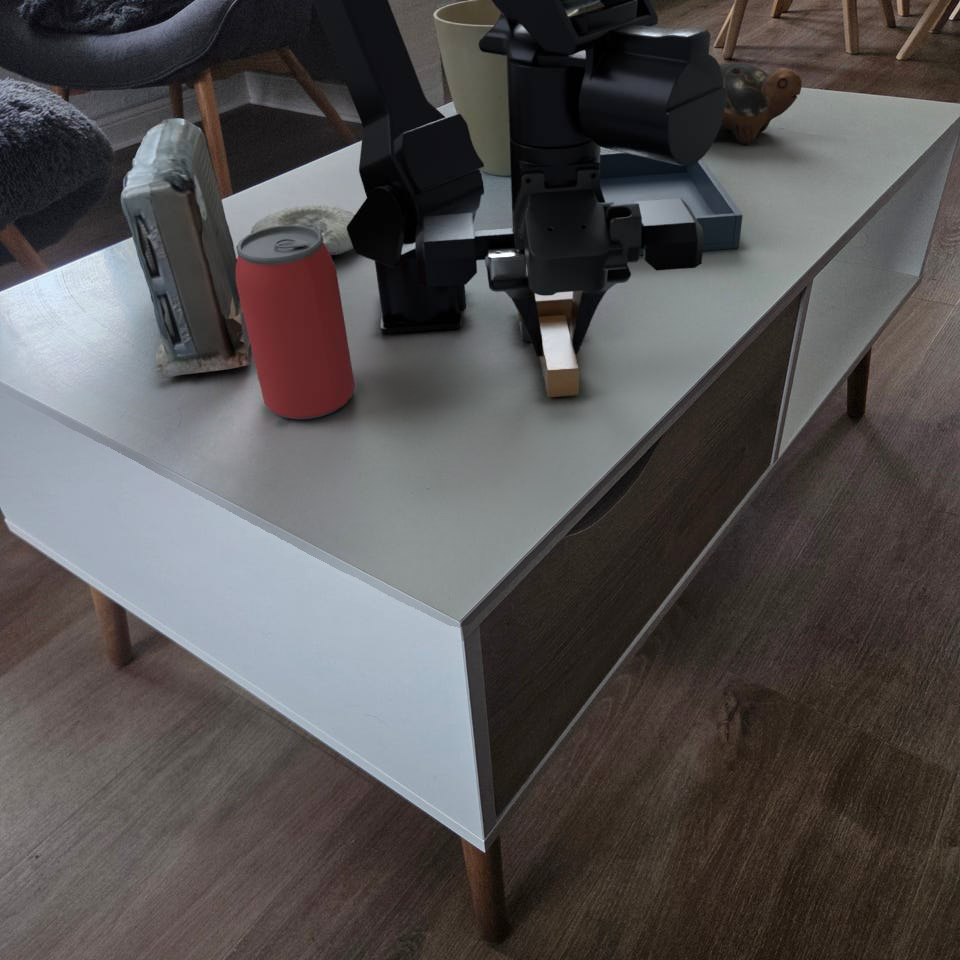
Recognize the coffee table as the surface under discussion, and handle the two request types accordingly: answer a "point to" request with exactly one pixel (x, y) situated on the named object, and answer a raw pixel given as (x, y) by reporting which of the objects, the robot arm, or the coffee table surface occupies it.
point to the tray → (673, 193)
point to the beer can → (294, 321)
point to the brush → (556, 344)
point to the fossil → (315, 224)
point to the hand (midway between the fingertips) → (556, 353)
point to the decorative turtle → (756, 98)
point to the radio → (185, 251)
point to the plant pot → (477, 79)
